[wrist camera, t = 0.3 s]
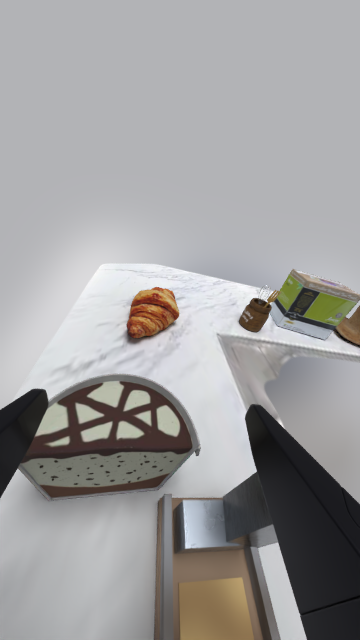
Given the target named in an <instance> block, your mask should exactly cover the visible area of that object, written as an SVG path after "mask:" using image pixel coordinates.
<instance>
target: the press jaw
mask: <svg viewBox="0 0 360 640" xmlns="http://www.w3.org/2000/svg"><path fill="white" fill-rule="evenodd" d="M277 542H278V540H277V536H276V533H275V530H274V526H273V523H272V520H271V516H270V513H269V509H268V506H267V503H266V499H265V496H264V493H263V489H262V486H261V483H260V479H259V476H258V473H257V472H256V473H254V474H253V475H252V476H250V477H249V478H248V479H246V480H245V481H244V482H242V483H241V484H240V485H238V486H237V487H236V488H234V489H233V490H232V491H230V492H229V493H228V494H226V495H225V496H224V497H223V500H183V501H182V502H181V503H180V504H179V505H178V506H177V507H176V508H175V509H174V544H175V554H182V553H198V552H214V551H230V550H242V549H245V548H249V547H256V548H259V547H263V546H266V545H270V544H273V543H277Z"/></svg>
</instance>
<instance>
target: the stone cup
mask: <svg viewBox="0 0 360 640" xmlns="http://www.w3.org/2000/svg"><path fill="white" fill-rule="evenodd" d="M336 329H337V331H338V332H339V333H340V334H341V335H342V336H343V337H344V338H346V339H347V340H349V341H351V342H353V343H355V344H358V345H360V306H359V307H358V308H357V310H356V311H355V313H354V314H353V315H352V316H351V317H350V318H349V319H348V318H346V317H345V318H344V319H343V320H342V321H341V322H340V324H339V325H338V326H337V327H336Z"/></svg>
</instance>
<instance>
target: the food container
mask: <svg viewBox="0 0 360 640" xmlns="http://www.w3.org/2000/svg"><path fill="white" fill-rule="evenodd" d="M200 449H201V448H200V442H199V438H198V435H197V431H196V429H195V426H194V424H193V421H192V419H191V417H190V416H189V414H188V412H187V410H186V409H185V407H184V406H183V405H182V403H181V402H180V401H179V400H178V399H177V398H176V397H175V396H174V395H173V394H172V393H171V392H170V391H169V390H167V389H166V388H165V387H163V386H162V385H160V384H158V383H156V382H155V381H152V380H150V379H147V378H145V377H141V376H137V375H130V374H108V375H101V376H97V377H93V378H89V379H87V380H84V381H81V382H79V383H76V384H74V385H72V386H70V387H68V388H66V389H65V390H63V391H62V392H60V393H59V394H57V395H55V396H54V397H52V398H51V399H50V400H49V405H48V408H47V411H46V413H45V415H44V417H43V419H42V421H41V424H40V426H39V428H38V430H37V432H36V434H35V437H34V439H33V441H32V443H31V445H30V447H29V449H28V451H27V453H26V454H25V456H24V458H23V460H22V461H21V463H20V465H19V467H18V469H19V470H20V471H21V472H22V473H23V474H24V475H25V476H26V477H27V478H28V480H29V481H30V482H31V483H32V484H33V485H34V486H35V487H36V488H37V489H38V490H39V491H40V492H41V493H42V494H43V496H44V497H45V498H46V499H47V500H48V501H54V500H63V499H73V498H83V497H93V496H103V495H113V494H122V493H132V492H142V491H152V490H159V489H160V488H161V486H162V485H163V484H164V483H165V482H166V481H167V480H168V479H169V478H170V477H171V476H172V475H173V474H174V473H175V472H176V471H177V470H178V468H179V467H180V466H181V465H182V464H183V463H184V462H185V461H186V460H187V459H188V458H189V457H190V456H191V455H192V454H193V453H194V451H195V453H196V456H198V455H199V452H200Z"/></svg>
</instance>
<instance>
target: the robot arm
mask: <svg viewBox="0 0 360 640" xmlns="http://www.w3.org/2000/svg"><path fill="white" fill-rule="evenodd" d="M48 405H49V401H48V397H47V393H46V390H44V389H32V390H30V391H29V392H27V393H26V394H24V395H23V396H21V397H20V398H18V399H16V400H15V401H13V402H12V403H10V404H9V405H7V406H6V407H4V408H2V409H1V410H0V498H1V496H2V494H3V492H4V491H5V489H6V487H7V486H8V484H9V482H10V480H11V479H12V477H13V475H14V473H15V472H16V470H17V468H18V467H19V465H20V463H21V461H22V460H23V458H24V456H25V454H26V453H27V451H28V449H29V447H30V445H31V443H32V441H33V439H34V437H35V434H36V432H37V430H38V428H39V426H40V424H41V421H42V419H43V417H44V415H45V413H46V411H47V408H48ZM245 421H246V426H247V431H248V436H249V441H250V446H251V451H252V455H253V459H254V463H255V466H256V469H257V473H258V476H259V479H260V483H261V486H262V489H263V493H264V496H265V499H266V503H267V506H268V509H269V513H270V516H271V520H272V523H273V526H274V530H275V533H276V536H277V540H278V543H279V546H280V550H281V553H282V556H283V560H284V563H285V566H286V570H287V573H288V577H289V580H290V583H291V587H292V590H293V593H294V597H295V600H296V603H297V607H298V610H299V613H300V617H301V621H302V624H303V627H304V631H305V634H306V637H307V640H360V504H359V503H358V502H357V501H356V500H355V499H354V498H353V497H352V496H351V495H350V494H349V493H348V492H347V491H346V490H345V489H344V488H342V487H341V486H340V484H339V483H338V482H337V481H336V480H335V479H334V478H333V477H332V476H331V475H330V474H329V473H328V472H327V471H326V470H325V469H324V468H323V467H322V466H321V465H320V464H319V463H318V462H317V461H316V460H315V459H314V458H313V457H312V456H311V455H310V454H309V453H308V452H307V451H306V450H305V449H304V448H303V447H302V446H301V445H300V444H299V443H298V442H297V441H296V440H295V439H294V438H293V437H292V436H291V435H290V434H289V433H288V432H287V431H286V430H285V429H284V428H283V427H282V426H281V425H280V424H279V423H278V422H277V421H276V420H275V419H274V418H273V417H272V416H271V415H270V414H269V413H268V412H267V411H266V410H265V409H264V408H263V407H262V406H261V405H258V404H252V405H250V407H249V409H248V411H247V413H246V416H245Z"/></svg>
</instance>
